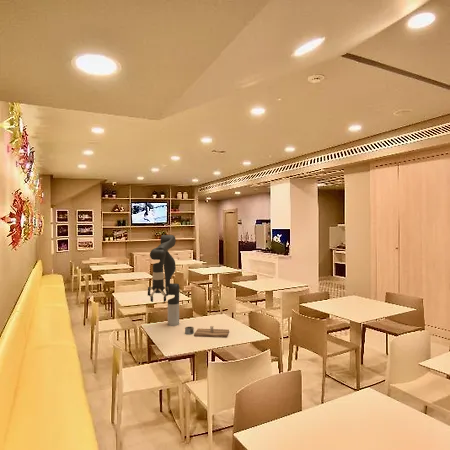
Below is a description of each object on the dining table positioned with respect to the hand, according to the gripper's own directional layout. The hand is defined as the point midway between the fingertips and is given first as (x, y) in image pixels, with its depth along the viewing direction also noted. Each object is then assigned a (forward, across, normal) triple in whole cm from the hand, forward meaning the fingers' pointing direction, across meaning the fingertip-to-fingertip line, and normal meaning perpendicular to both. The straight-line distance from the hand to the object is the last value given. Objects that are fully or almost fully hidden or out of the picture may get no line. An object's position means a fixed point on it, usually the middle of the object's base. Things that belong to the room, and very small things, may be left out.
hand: (158, 301), depth 248 cm
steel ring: (+28, -18, -21) cm, 39 cm away
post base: (+28, -35, -19) cm, 49 cm away
